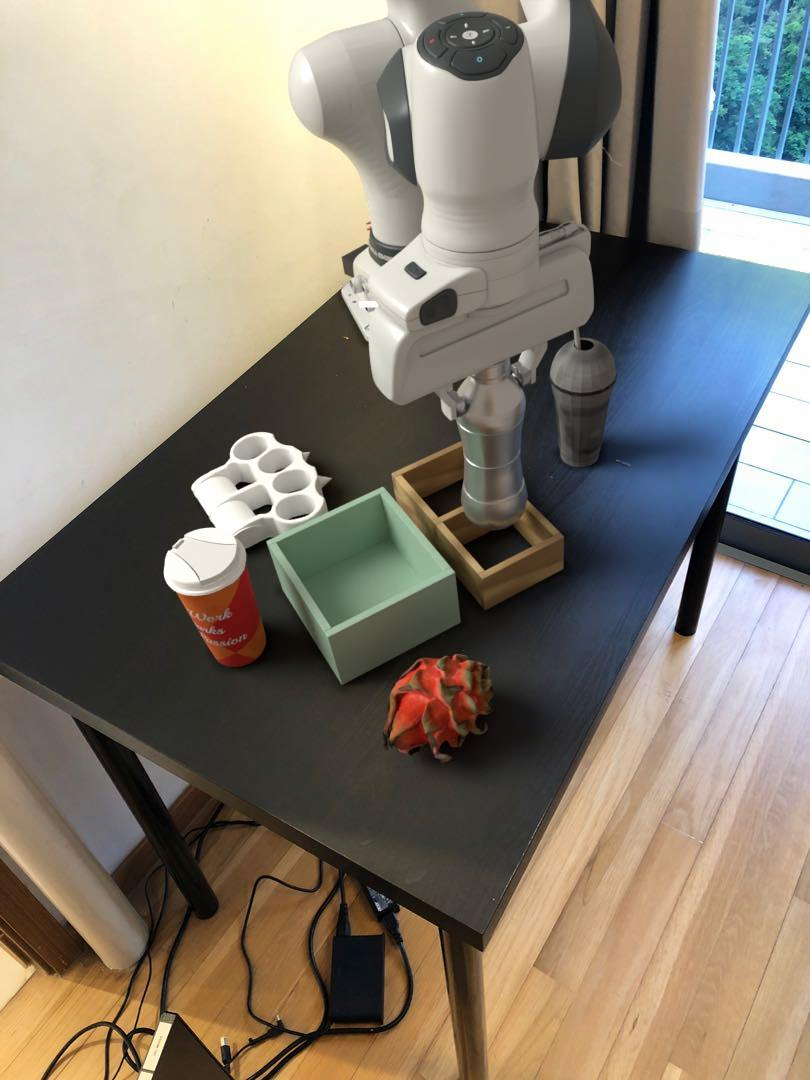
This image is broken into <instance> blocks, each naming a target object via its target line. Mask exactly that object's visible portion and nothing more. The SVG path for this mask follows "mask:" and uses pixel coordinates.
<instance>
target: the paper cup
mask: <svg viewBox="0 0 810 1080" xmlns="http://www.w3.org/2000/svg"><path fill="white" fill-rule="evenodd" d="M183 536H184V537H183V538H179V539H178V540H177V542H175V543H174V544H173V545H172V549H170V550H168V551H167V553H166V555H165V558H164V566H163V576H164V580H165V582H166V584H167V585H168V587H169V588H170V589H171V590H173V591H174V592H176V594H177V596H178V598H179V600H180V601H181V603H182V605H183V607H184V608H185V610H186V612H187V613H188V616H189V617H190V619H191V621H192V622H193V624H194V626H195V627H196V629H197V630H198V632H199V634H200V636H201V637H202V639H203V641H204V643H205V644H206V646H207V647H208V649H209V650H210V652H211V654H212V655H213V657H214V658H215V659H216V660H217V662H218V663H219V664H221V665H223V666H225V667H230V668H239V667H243V666H247V665H249V664H251V663H253V662H255V661H256V660H257V659H258V658H259V657H260V656H261V655H262V654H263V652H264V650H265V647H266V645H267V636H266V632H265V628H264V623H263V620H262V617H261V612H260V609H259V605H258V602H257V599H256V595H255V591H254V588H253V584H252V580H251V577H250V574H249V570H248V567H247V563H246V562H247V552H246V549H245V548H244V546H243V544H242V543H241V542H240V541H239V540H238V539H237V538H235V537H234V536H233V535H232V534H230V533H229V532H227V531H225V530H222V529H218V528H216V527H205V528H204V527H203V528H198V529H194V530H192V531H189V532H187V533H185V534H184V535H183Z"/></svg>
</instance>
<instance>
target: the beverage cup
mask: <svg viewBox="0 0 810 1080" xmlns="http://www.w3.org/2000/svg"><path fill="white" fill-rule="evenodd" d="M579 329H580V327H578V328H575V329H573V337H574V339H572V340H570V341H568V342H566V343H565V344H564V345H562V347H560V348H559V349H558V351H557V352H556V353H555V356H554V358H553V360H552V361H551V362H552V363H551V366H550V371H549V374H548V377H549V378H548V379H549V382H550V387H551V390H552V395H553V396H554V397H553V398H554V409H555V418H556V428H557V441H558V448H559V454H560V459H561V460H562V462H563V463H564V464H566V465H567V466H570V467H573V468H586V467H589V466H591V465H594V464H595V463H596V462H597V461H598V460H599V457H600V452H601V448H602V444H603V439H604V434H605V433H604V432H605V428H606V421H607V416H608V411H609V405H610V399H611V396H612V393H613V390H614V388H615V387H614V386H615V384H616V382H617V378H618V374H617V369H616V362H615V359H614V356H613V354H612V352H611V351H610V350H609V348H608V347H607V346H606V345H605V344H604V343H603V342H601V341H599V340H597V339H595V338H591V337H581V336H580V330H579Z"/></svg>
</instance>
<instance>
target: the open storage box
mask: <svg viewBox="0 0 810 1080" xmlns="http://www.w3.org/2000/svg"><path fill="white" fill-rule="evenodd" d="M266 546H267V549H268V550H269V553H270V556H271V560H272V562H273V566H274V568H275V571H276V575H277V577H278V581H279V583H280V586H281V590H282V591H283V593H284V594H285V596H286V598H287V599H288V601H289V603H290V604H291V606H292V607H293V609H294V610H295V612H296V614H297V615H298V617H299V618H300V620H301V622H302V623H303V625H304V626H305V629H306V630H307V631H308V633H309V634H310V636H311V638H312V640H313V641H314V642H315V644H316V646H317V648H318V650H319V651H320V652H321V654H322V656H323V657H324V659H325V661H326V662H327V664H328V665H329V667H330V668H331V670H332V672H333V674H334V675H335V677H336V678H337V679H338V681H339V683H340V685H341V686H343V685H345V684H347V683H349V682H350V681H353V680H354V679H356V678H358V677H361V676H362V675H364V674H366V673H367V672H369V671H371V670H373V669H375V668H377V667H379V666H381V665H383V664H385V663H387V662H389V661H390V660H393V659H394V658H397V657H398V656H400V655H402V654H404V653H405V652H408V651H409V650H411V649H413V648H415V647H417V646H420V645H421V644H422V643H425V642H426V641H428V640H430V639H432V638H434V637H436V636H437V635H439V634H442V633H443V632H445V631H447V630H449V629H451V628H453V627H455V626H457V625H459V624H461V622H462V621H461V620H462V619H461V613H460V604H459V595H458V594H459V593H458V586H457V578H456V577H457V576H456V575H455V572H454V571H453V569H452V568H451V567H450V566H449V564H448V563H447V562H446V561H445V560H444V558H443V557H442V556H441V555H440V554H439V552H438V551H437V550H436V549H435V548H434V546H433V545H432V544H431V543H430V542H429V540H428V539H427V538H426V537H425V536H424V535H423V533H422V532H421V531H420V530H419V529H418V527H417V526H416V525H415V524H414V523H413V521H412V520H411V519H410V518H409V517H408V515H407V514H406V513H405V512H404V511H403V509H402V508H401V507H400V506H399V505H398V503H397V502H396V499H395V498H394V497H393V496H392V495H391V493H390V492H388V490H387V489H386V488H385V487H384V486H381V487H379V488H377V489H375V490H373V491H371V492H368V493H366V494H364V495H362V496H360V497H357V498H355V499H353V500H351V501H349V502H347V503H345V504H342V505H341V506H339V507H336V508H334V509H331V510H329V511H328V513H325V514H323V515H321V516H319V517H317V518H315V519H313V520H311V521H308V522H306V523H304V524H302V525H300V526H298V527H296V528H293V529H291V530H289V531H287V532H285V533H283V534H281V535H278V536H276V537H271V538H269V539H268V540H266Z"/></svg>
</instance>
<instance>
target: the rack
mask: <svg viewBox="0 0 810 1080" xmlns="http://www.w3.org/2000/svg"><path fill="white" fill-rule="evenodd" d="M391 479H392V480H391V481H392V484H393V491H394V496H395V501H396V502H397V503H398V505H399V506H400V507H401V508H402V509H403V511H404V512H405V513H406V514H407V515H408V517H409V518H410V519H411V520H412V521H413V523H414V524H415V525H416V526H417V527H418V529H419V530H420V531H421V532H422V533H423V535H424V536H425V537H426V538H427V539H428V540H429V542H430V543H431V544H432V545H433V546H434V548H435V549H436V550H437V551H438V552H439V554H440V555H441V556H442V557H443V558H444V560H445V561H446V562H447V563H448V564H449V566H450V567H451V568H452V569H453V571H454V572H455V576H456V577H457V578H456V579H458V581H460V583H461V584H462V585H463V586H464V587H465V588H466V590H467V591H468V592H469V593H470V595H471V596H472V597H473V598H474V599H475V601H476V602H477V603H478V604H479V605H480V606H481V607H482V609H483V610H484V611H486V610H489V609H490V608H492V607H494V606H496V605H498V604H500V603H501V602H504V601H506V600H507V599H509V598H511V597H514V596H515V595H516V594H519V593H521V592H523V591H524V590H526V589H528V588H530V587H532V586H534V585H536V584H538V583H540V582H541V581H544V580H546V579H547V578H549V577H551V576H553V575H554V574H557V573H558V572H560V571H562V570H564V559H565V558H564V557H565V556H564V555H565V554H564V553H565V536H564V535H563V534H562V533H561V532H560V531H559V530H558V529H557V528H556V527H555V526H554V525H553V523H551V522H550V521H549V520H548V519H547V518H546V517H545V516H544V515H543V514H542V513H541V512H540V511H539V510H538V509H537V508H536V507H535V506H534V505H533V504H532V503H531V502H530V501H529V500H528V499H527V503H526V508H525V511H524V514H523V515H522V516H521V518H520V519H519V520H518V521H516V522H515V523H514V524H513V525H512V526H513V528H514V529H515V530H516V531H518V533H519V534H520V535H521V536H522V537H523V538H524V539H525V540H526V541H527V542H528V543H529V544H530V545H531V547H529V548H527V549H525V550H523V551H521V552H519V553H517V554H515V555H513V556H511V557H509V558H507V559H505V560H503V561H501V562H499V563H498V564H495V565H493V566H491V567H489V568H487V569H486V570H485V569H484V568H483V567H482V566H481V564H479V562H478V561H477V560H476V559H475V558H474V557H473V556H472V555H471V553H470V552H469V551H468V550H467V549H466V547H465V546H464V545H467V544H468V543H471V542H472V541H474V540H476V539H478V538H480V537H482V536H484V535H487V534H488V533H490V532H492V531H493V530H486V529H482V528H480V527H478V526H476V525H474V524H473V523H472V522H471V521H469V520H468V518H467V517H466V515H465V513H464V510H463V507H462V505H461V506H459V507H457V508H455V509H453V510H451V511H449V512H447V513H444V514H443V515H441V516H438V515H436V513H435V512H434V511H433V510H432V508H430V506H429V505H428V504H427V503H426V502H425V501H424V498H426V497H429V496H430V495H432V494H435V493H436V492H438V491H441V490H443V489H444V488H446V487H449V486H451V485H453V484H455V483H457V482H460V481H462V480H464V454H463V447H462V441H461V440H460V441H457V442H455V443H454V444H452V445H450V446H447V447H445V448H443V449H441V450H439V451H437V452H434V453H432V454H430V455H428V456H426V457H424V458H422V459H420V460H419V459H418V460H417V461H415V462H413V463H411V464H409V465H406V466H404V467H402V468H400V469H397V470H396V471H393V472H392V473H391Z"/></svg>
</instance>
